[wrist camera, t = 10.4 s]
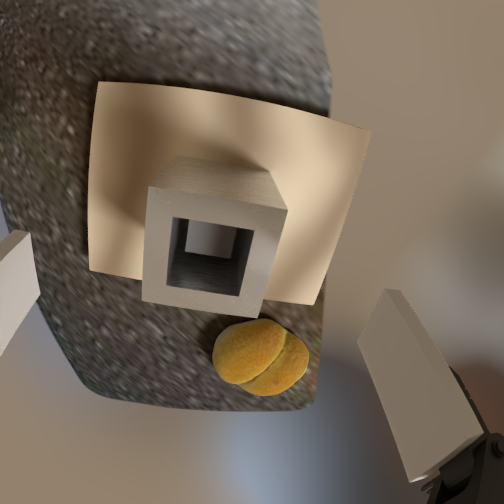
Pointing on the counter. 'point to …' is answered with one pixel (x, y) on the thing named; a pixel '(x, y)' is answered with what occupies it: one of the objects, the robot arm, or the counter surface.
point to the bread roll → (260, 357)
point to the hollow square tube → (219, 212)
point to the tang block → (225, 151)
